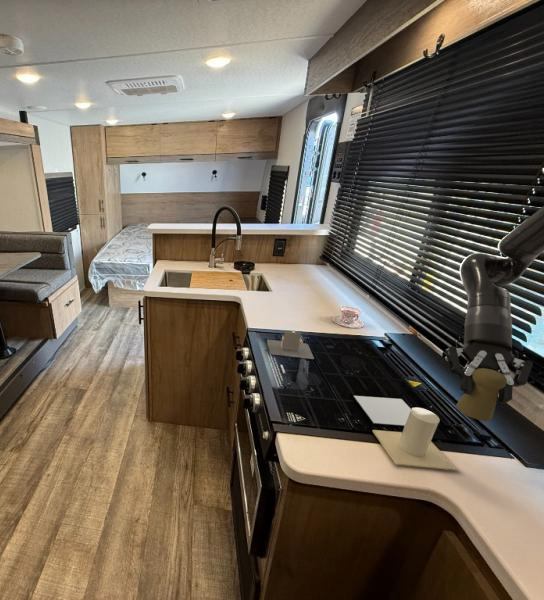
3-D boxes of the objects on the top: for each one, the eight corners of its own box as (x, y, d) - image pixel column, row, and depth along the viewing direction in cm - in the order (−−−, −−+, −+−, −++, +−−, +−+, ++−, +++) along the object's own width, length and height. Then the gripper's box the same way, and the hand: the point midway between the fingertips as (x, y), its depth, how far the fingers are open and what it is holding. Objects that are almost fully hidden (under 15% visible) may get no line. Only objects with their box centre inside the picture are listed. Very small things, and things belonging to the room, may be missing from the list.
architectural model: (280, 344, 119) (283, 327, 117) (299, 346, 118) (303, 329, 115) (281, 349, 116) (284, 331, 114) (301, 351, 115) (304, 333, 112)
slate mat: (401, 400, 89) (401, 398, 89) (428, 428, 79) (428, 427, 79) (352, 396, 91) (353, 395, 91) (373, 424, 81) (373, 423, 81)
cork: (469, 419, 69) (487, 379, 65) (449, 401, 75) (465, 363, 71) (500, 422, 68) (521, 381, 64) (478, 403, 74) (496, 365, 70)
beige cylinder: (416, 440, 75) (429, 408, 71) (430, 457, 70) (445, 424, 67) (393, 438, 76) (405, 406, 72) (406, 455, 71) (420, 422, 67)
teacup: (326, 317, 141) (328, 305, 139) (350, 315, 142) (353, 303, 140) (344, 329, 130) (348, 316, 128) (370, 327, 131) (374, 314, 129)
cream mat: (424, 435, 77) (424, 434, 77) (455, 470, 68) (456, 469, 68) (372, 431, 79) (372, 429, 78) (396, 464, 69) (396, 463, 69)
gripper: (453, 316, 74) (448, 384, 69) (542, 329, 66) (544, 406, 62) (441, 327, 80) (436, 390, 75) (521, 340, 73) (522, 411, 68)
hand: (485, 397), depth 68 cm, fingers closed on cork, 5 cm apart
